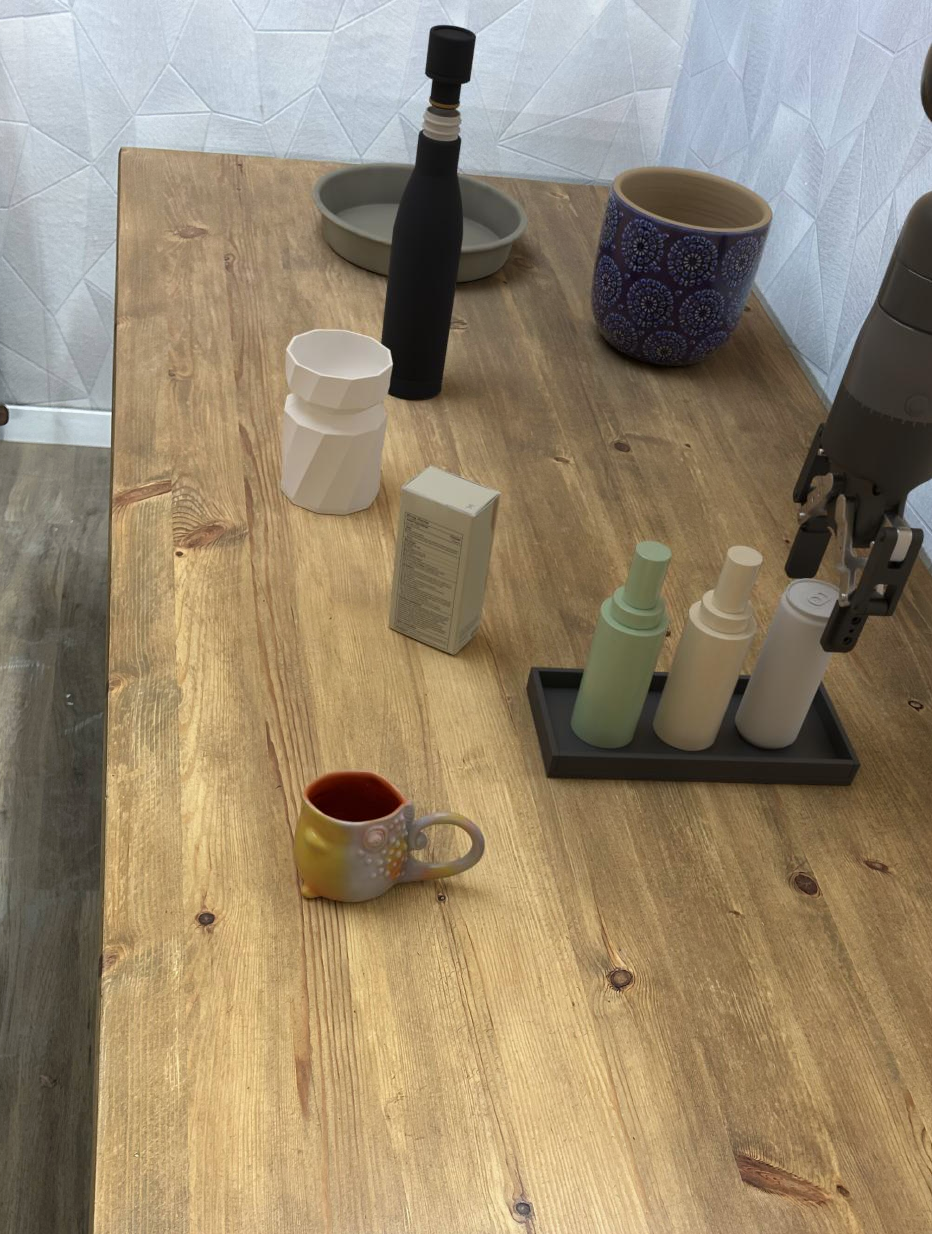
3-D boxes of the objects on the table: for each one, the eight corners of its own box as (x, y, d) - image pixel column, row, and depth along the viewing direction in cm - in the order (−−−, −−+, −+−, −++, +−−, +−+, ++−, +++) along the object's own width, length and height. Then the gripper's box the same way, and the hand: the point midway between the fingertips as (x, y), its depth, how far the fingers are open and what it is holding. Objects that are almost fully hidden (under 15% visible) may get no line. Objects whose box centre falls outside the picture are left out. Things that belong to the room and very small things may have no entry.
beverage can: (720, 727, 101) (770, 592, 92) (756, 703, 103) (809, 569, 95) (771, 762, 99) (828, 626, 90) (808, 736, 101) (866, 602, 93)
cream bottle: (707, 710, 102) (769, 537, 91) (722, 752, 99) (789, 578, 88) (646, 708, 101) (702, 533, 90) (660, 750, 98) (719, 574, 87)
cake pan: (558, 248, 159) (565, 208, 156) (452, 312, 144) (458, 269, 141) (384, 184, 166) (388, 144, 163) (266, 238, 151) (267, 195, 148)
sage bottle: (627, 707, 101) (680, 532, 90) (640, 749, 98) (697, 573, 87) (565, 705, 100) (611, 528, 89) (576, 748, 97) (625, 569, 86)
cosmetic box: (480, 632, 106) (506, 492, 97) (453, 658, 104) (478, 517, 95) (410, 600, 108) (430, 461, 99) (382, 626, 105) (400, 484, 96)
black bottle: (369, 391, 130) (406, 34, 108) (386, 363, 135) (424, 14, 113) (433, 406, 130) (483, 50, 108) (447, 377, 134) (498, 30, 112)
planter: (730, 393, 139) (776, 244, 128) (573, 363, 140) (606, 211, 129) (730, 326, 151) (772, 183, 140) (584, 298, 151) (615, 153, 140)
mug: (283, 900, 85) (289, 824, 80) (301, 826, 89) (307, 749, 85) (471, 930, 85) (488, 856, 80) (479, 855, 90) (495, 780, 85)
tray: (811, 699, 106) (820, 677, 104) (850, 785, 99) (861, 764, 98) (525, 688, 102) (531, 666, 101) (547, 777, 96) (552, 755, 94)
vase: (358, 525, 114) (372, 390, 106) (263, 497, 116) (269, 361, 107) (392, 478, 120) (408, 346, 111) (301, 451, 121) (310, 319, 112)
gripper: (1009, 451, 77) (900, 678, 89) (923, 335, 86) (835, 555, 98) (886, 444, 76) (793, 674, 88) (812, 327, 85) (737, 550, 97)
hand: (815, 611), depth 93 cm, fingers open, 8 cm apart
